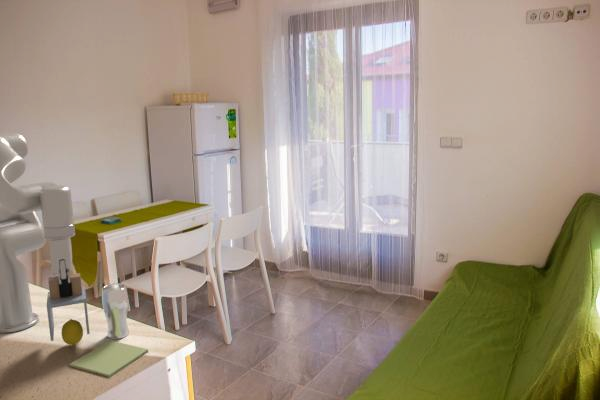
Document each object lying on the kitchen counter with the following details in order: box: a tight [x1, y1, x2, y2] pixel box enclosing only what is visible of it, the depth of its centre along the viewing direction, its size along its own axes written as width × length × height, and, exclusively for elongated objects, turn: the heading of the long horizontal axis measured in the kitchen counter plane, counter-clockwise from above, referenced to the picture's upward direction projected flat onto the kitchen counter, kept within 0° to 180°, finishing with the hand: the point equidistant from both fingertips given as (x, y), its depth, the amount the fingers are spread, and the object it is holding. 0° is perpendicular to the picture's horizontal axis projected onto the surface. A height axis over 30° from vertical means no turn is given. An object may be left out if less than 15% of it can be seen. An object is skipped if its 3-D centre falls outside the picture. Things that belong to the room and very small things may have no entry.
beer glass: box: [101, 283, 130, 340], centre depth 143 cm, size 7×7×15 cm
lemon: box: [61, 318, 84, 346], centre depth 138 cm, size 6×6×8 cm
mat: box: [69, 339, 149, 378], centre depth 131 cm, size 14×14×1 cm
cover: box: [46, 272, 90, 342], centre depth 137 cm, size 10×10×16 cm
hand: (66, 293), depth 136 cm, fingers closed on cover, 3 cm apart
